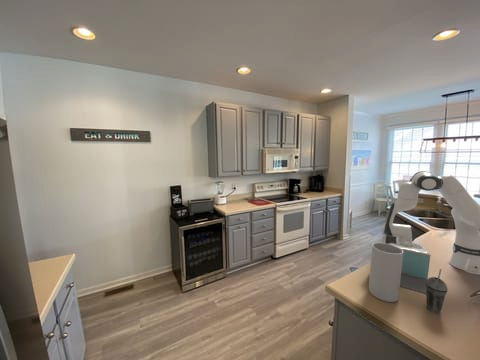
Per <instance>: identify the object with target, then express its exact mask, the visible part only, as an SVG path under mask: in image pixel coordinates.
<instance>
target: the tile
mask: <svg viewBox="0 0 480 360" xmlns="http://www.w3.org/2000/svg"><path fill="white" fill-rule="evenodd" d="M398 248H399V247H398ZM400 249H402V250H403V260H402V269H401V273H403V274H407V275H411V276H415V277H419V278H423V279H428V278H429V268H430V263H431V262H430V261H431V254H430V253H429V252H428V253H424V252H419V251H414V250H409V249H404V248H400Z"/></svg>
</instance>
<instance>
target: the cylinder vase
mask: <svg viewBox="0 0 480 360" xmlns="http://www.w3.org/2000/svg"><path fill="white" fill-rule="evenodd" d="M370 256H371V257H370V268H369V281H368V291H369V293H370V294H371V295H372V296H373V297H375V298H376V299H379V300H381V301H384V302H387V303H396V302H397V301H398V300H399V297H400V279H401V269H402V260H403V250H402V249H400V248H398V247H396V246H393V245H390V243H384V242H373V243H372V244H371V255H370Z"/></svg>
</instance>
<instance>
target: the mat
mask: <svg viewBox="0 0 480 360" xmlns="http://www.w3.org/2000/svg"><path fill="white" fill-rule="evenodd" d="M426 281H427V279H424V278H420V277H416V276H412V275H408V274H404V273H401V279H400V287H402V288H404V289H408V290H412V291H415V292H418V293H423V294H425V295H426V284H425V283H426Z"/></svg>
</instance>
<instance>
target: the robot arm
mask: <svg viewBox="0 0 480 360" xmlns="http://www.w3.org/2000/svg"><path fill="white" fill-rule="evenodd" d="M435 190H438V192H439V193H440V194H441V196H442V197H443V199H444V200H445V201H446V203H447V204H448V205H449V206H450V207H451V208H452V209H451V210H450V214H451V216H452V218H453V221H454V226H455V237H454V242H453V245H452V254H451V257H450V259H449V260H448V264H449V265H451V266H452V267H454V268H457V269H459V270H461V271H463V272H466V273H467V274H471V275H477V276H480V203H478V202H477V201H476V200H475V199H474V198H473V197H472V196H471V194H470V193H469V192H468V190H466V187H464V186H463V184H462V183H461V182H460V181H459V180H458V179H457V178H456V177H455V176H454V175H452V174H442V175H439V176H437V175H435V174H433V173H430V172H428V171H427V170H426V171H424V170H422V171H421V170H420V171H418V172H415V173H414V174H413V176H412V177H411V178H410V179H409V181H405V182H402V183H400V185H399V188H398V191H397V198H396V201H395V202H392V203H391V204H390V207H389V208H388V212H387V216H386V219H385V222H384V224H383V226H382V231H383V232H382V233H383V234H384V235H385V236H386V237H395V238H396V241H395V242H396V243H394V242H390V243H389V244H390V245H393V246H396V247H399V248H404V249H409V250H414V251H419V252H424V253H429V252H428V250H427V249H425V247H423V245H421V244H417V243H414V241H415V240H416V230H415V228H414V227H413V226H412V225H409V224H402V223H401V224H399V223H394V219H395V216H396V215H397V214H398V213H401V212H404V211H405V212H406V211H411V210H413V209H414V208H416V207H417V205H418V201H419V194H420V192H421V191H426V192H431V191H435Z"/></svg>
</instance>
